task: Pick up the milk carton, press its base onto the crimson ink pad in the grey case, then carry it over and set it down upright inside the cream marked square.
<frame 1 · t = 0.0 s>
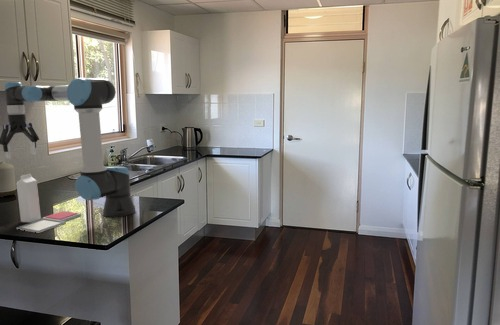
hand: (21, 156, 206), 28 cm above the countertop, fingers open, 13 cm apart
milk: (31, 220, 192), on the countertop
ink pad: (61, 218, 195), on the countertop
marked square: (41, 226, 183), on the countertop
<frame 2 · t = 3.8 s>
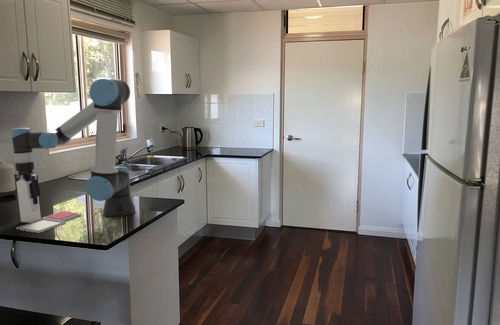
hand: (29, 210, 191), 5 cm above the countertop, fingers closed on milk, 6 cm apart
milk: (31, 220, 192), on the countertop, touching gripper
when the fingers open (7 cm above the countertop, at t = 14.0 s): milk drops 1 cm, resting on marked square.
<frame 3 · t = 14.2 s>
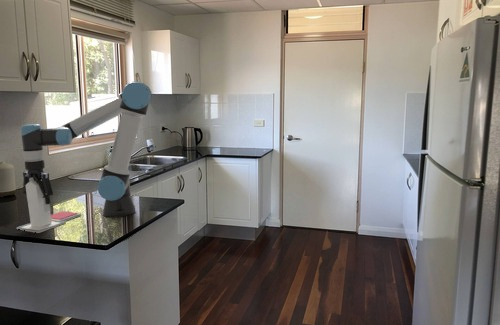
hand: (39, 210, 181), 7 cm above the countertop, fingers open, 9 cm apart
milk: (41, 225, 183), resting on marked square
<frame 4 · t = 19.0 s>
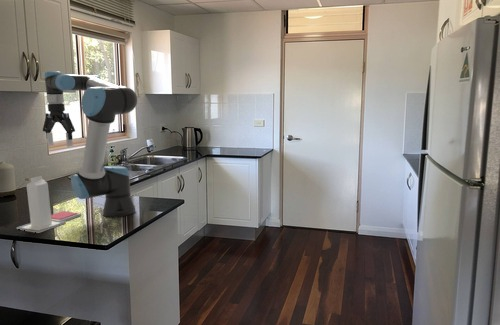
hand: (60, 145, 206), 33 cm above the countertop, fingers open, 13 cm apart
nothing on the countertop moved.
at the end: milk inside the target area on the marked square (0.1 cm from its centre), point 0.3 cm above the marked square's base; milk tilted 0°; the gripper is holding nothing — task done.
